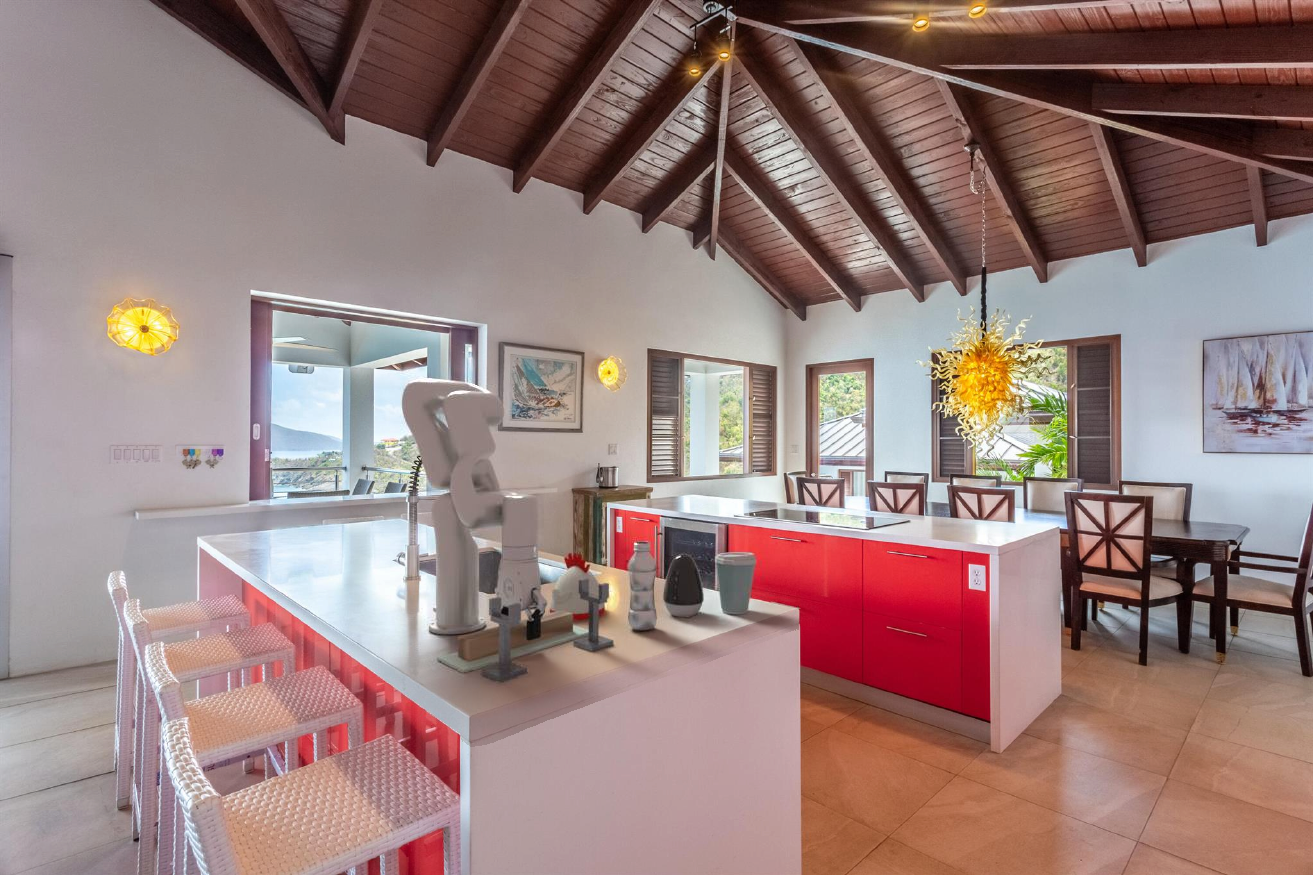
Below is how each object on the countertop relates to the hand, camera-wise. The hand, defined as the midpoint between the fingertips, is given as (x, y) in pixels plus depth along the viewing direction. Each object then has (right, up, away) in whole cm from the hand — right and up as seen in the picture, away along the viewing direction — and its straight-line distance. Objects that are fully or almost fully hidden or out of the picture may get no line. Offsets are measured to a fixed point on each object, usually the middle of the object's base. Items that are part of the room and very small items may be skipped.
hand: (519, 633), depth 129 cm
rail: (0, -2, 0) cm, 2 cm away
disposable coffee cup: (+49, -3, +27) cm, 56 cm away
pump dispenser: (+36, -3, +24) cm, 43 cm away
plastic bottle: (+26, -3, +12) cm, 28 cm away
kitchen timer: (+9, -3, +26) cm, 27 cm away
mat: (0, -3, 0) cm, 3 cm away
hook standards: (+8, -3, -7) cm, 11 cm away
